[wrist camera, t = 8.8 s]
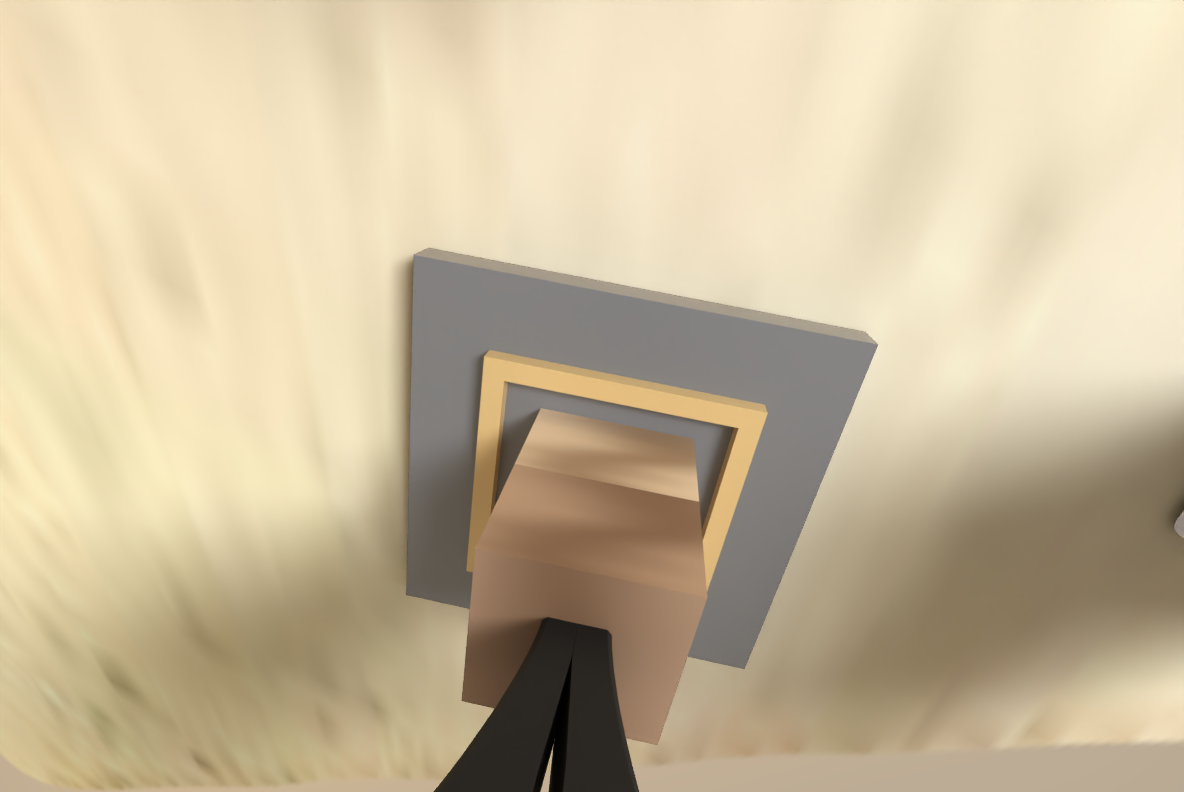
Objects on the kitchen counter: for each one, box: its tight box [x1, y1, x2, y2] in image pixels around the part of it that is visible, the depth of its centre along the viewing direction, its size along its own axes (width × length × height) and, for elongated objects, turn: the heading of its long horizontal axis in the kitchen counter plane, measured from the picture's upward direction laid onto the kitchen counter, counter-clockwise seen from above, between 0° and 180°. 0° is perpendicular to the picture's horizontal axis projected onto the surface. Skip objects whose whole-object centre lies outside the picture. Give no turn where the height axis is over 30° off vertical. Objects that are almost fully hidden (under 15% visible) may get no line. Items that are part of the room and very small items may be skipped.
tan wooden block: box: [462, 408, 707, 745], centre depth 14 cm, size 4×4×6 cm
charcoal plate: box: [406, 248, 878, 669], centre depth 17 cm, size 12×12×2 cm
